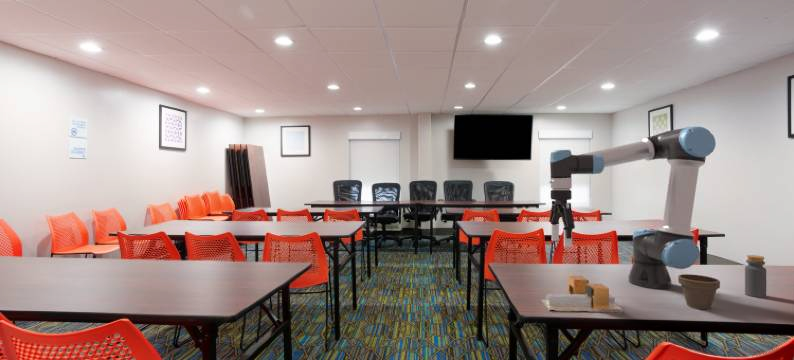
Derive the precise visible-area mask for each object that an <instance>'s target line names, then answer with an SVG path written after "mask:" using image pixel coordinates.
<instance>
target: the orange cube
mask: <svg viewBox="0 0 794 360" xmlns="http://www.w3.org/2000/svg"><path fill="white" fill-rule="evenodd" d="M567 280H568V291H569V292H574V293H573V294H587V292H586V285H587V284H590V282H589V280H588V279H587V278H585V277H584V276H582V275H568V279H567ZM569 292H568V293H569Z"/></svg>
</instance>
